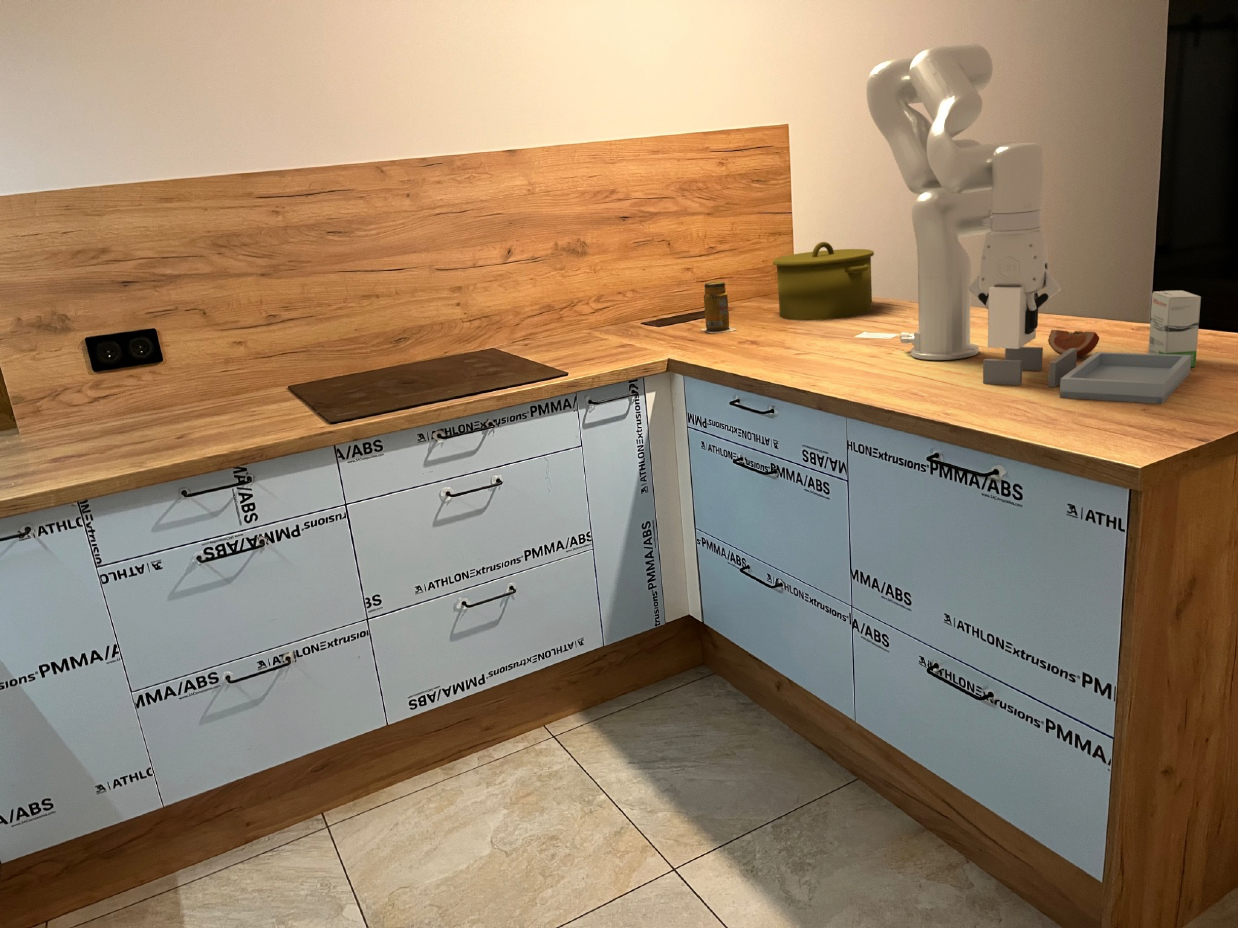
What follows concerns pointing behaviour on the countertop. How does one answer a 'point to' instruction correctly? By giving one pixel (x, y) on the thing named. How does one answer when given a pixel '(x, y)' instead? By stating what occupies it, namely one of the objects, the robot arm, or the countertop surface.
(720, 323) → the condiment
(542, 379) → the countertop surface
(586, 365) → the countertop surface
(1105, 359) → the tray
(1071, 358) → the dock
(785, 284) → the cooking pot
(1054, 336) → the fruit slice
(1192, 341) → the ink box
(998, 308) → the grey-panelled white block
